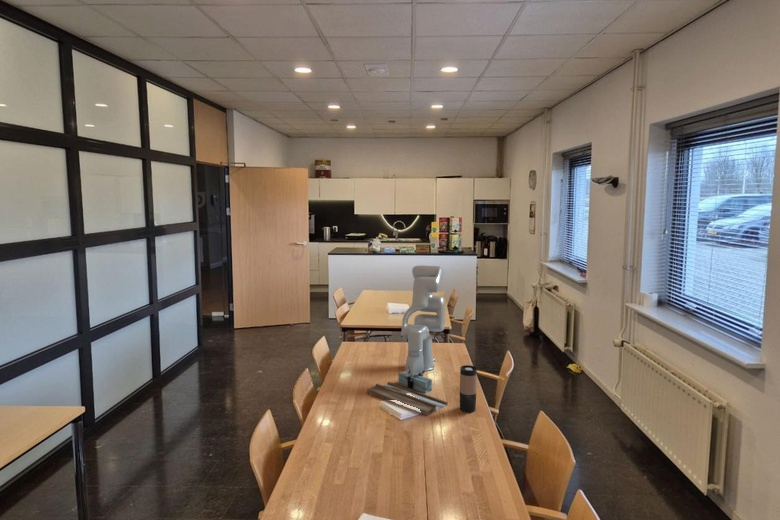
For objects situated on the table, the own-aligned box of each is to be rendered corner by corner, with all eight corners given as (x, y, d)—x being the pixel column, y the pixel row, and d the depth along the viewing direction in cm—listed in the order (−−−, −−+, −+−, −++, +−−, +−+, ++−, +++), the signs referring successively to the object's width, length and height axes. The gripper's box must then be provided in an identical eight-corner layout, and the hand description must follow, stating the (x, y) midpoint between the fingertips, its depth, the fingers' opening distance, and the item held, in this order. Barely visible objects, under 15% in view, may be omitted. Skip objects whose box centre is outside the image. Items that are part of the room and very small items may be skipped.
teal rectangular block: (404, 381, 257) (404, 371, 256) (431, 390, 245) (431, 379, 244) (398, 384, 253) (398, 373, 252) (425, 393, 241) (425, 382, 240)
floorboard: (388, 383, 253) (388, 378, 253) (447, 404, 228) (447, 399, 227) (367, 392, 241) (367, 387, 241) (426, 415, 216) (426, 409, 216)
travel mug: (477, 407, 224) (478, 366, 222) (473, 414, 217) (474, 372, 215) (462, 404, 227) (462, 364, 225) (457, 411, 221) (458, 369, 218)
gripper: (420, 347, 255) (419, 379, 258) (398, 354, 243) (398, 388, 245) (431, 350, 250) (430, 382, 253) (410, 358, 238) (409, 392, 240)
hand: (414, 385), depth 249 cm, fingers open, 6 cm apart
